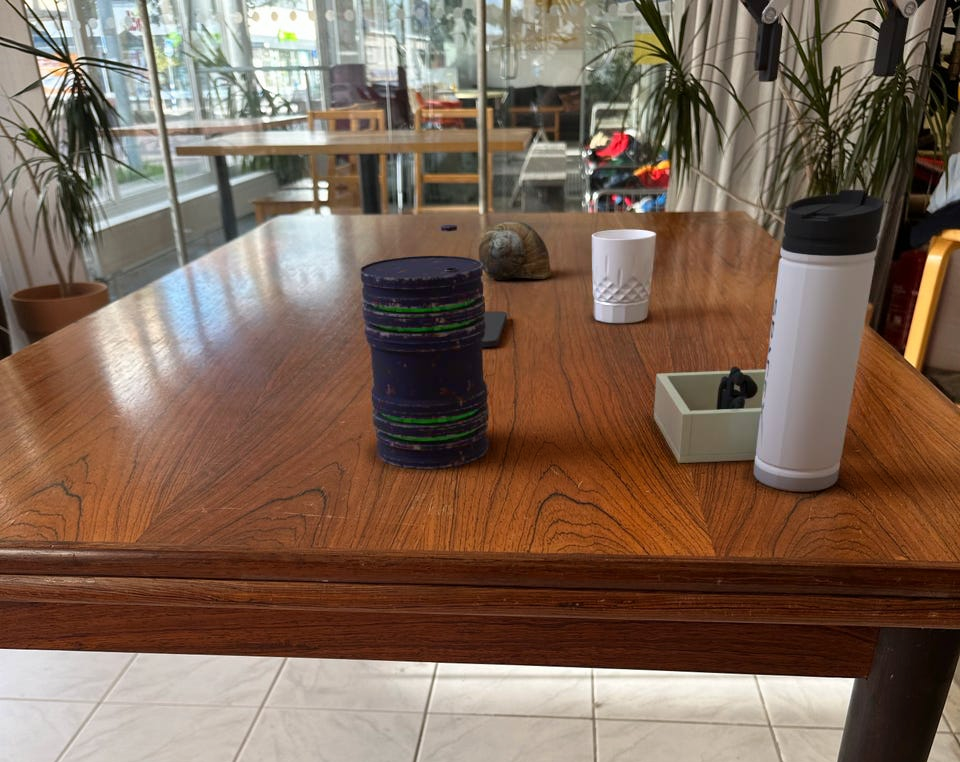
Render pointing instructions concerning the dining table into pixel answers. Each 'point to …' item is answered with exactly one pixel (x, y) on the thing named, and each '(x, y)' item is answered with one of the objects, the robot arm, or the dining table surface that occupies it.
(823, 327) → the travel mug
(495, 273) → the seashell
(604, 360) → the dining table surface
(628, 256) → the white cup
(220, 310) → the dining table surface
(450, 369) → the storage jar
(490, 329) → the phone
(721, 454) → the box
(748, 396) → the wireless earbuds
